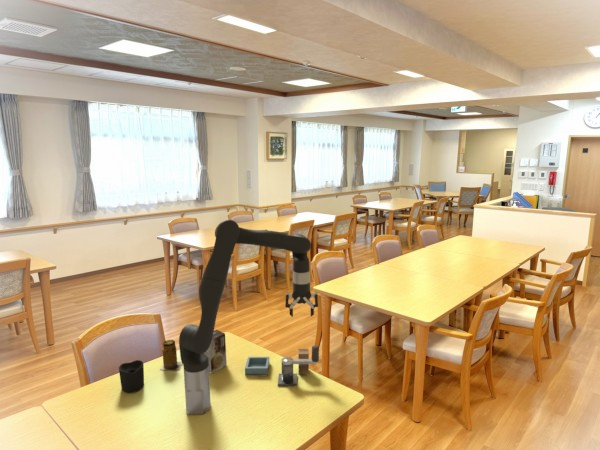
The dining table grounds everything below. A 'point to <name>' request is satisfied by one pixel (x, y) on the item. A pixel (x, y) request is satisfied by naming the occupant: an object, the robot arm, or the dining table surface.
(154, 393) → the dining table surface
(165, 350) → the condiment
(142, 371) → the pen holder
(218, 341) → the coffee box
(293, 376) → the crank pedestal
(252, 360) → the tray
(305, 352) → the block
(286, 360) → the crank lever
